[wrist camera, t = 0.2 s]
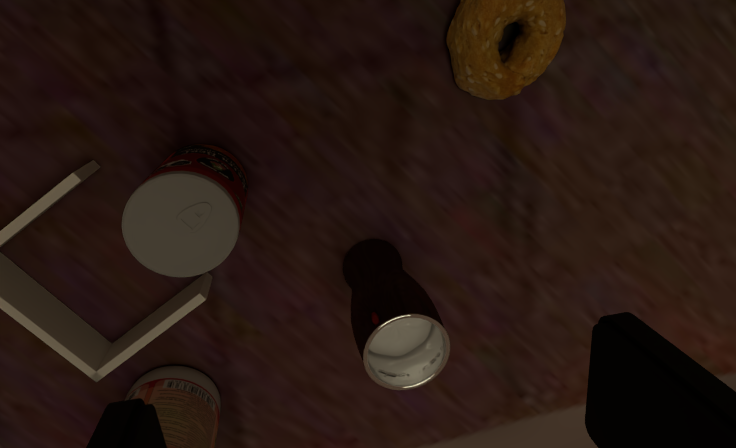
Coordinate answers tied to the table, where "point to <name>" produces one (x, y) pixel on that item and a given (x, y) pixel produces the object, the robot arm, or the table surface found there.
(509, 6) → the bagel
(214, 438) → the fruit juice
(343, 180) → the table surface
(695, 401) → the robot arm
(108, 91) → the table surface
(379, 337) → the beer glass
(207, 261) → the canned food
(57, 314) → the box
